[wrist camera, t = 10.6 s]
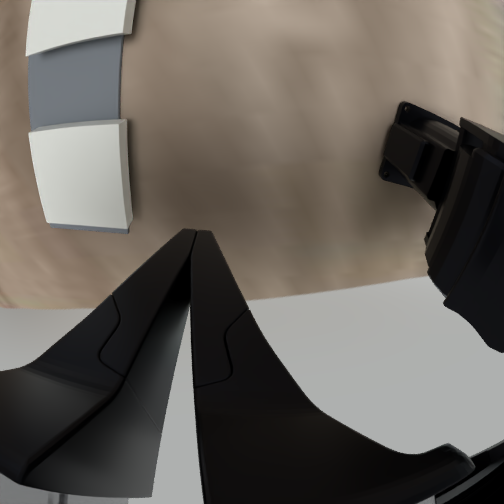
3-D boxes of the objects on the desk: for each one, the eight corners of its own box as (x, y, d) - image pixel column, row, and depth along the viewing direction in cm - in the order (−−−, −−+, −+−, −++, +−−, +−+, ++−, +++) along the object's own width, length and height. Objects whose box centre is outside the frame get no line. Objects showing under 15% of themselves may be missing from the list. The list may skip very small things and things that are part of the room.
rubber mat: (150, -84, 5) (149, -85, 5) (128, 231, 22) (127, 233, 22) (51, -53, 4) (49, -53, 4) (52, 225, 21) (50, 227, 21)
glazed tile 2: (118, 124, 14) (28, 132, 13) (127, 229, 19) (47, 222, 18) (130, 117, 16) (43, 124, 15) (135, 214, 21) (57, 210, 20)
